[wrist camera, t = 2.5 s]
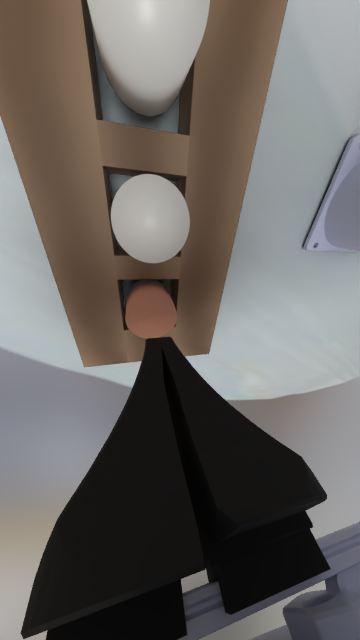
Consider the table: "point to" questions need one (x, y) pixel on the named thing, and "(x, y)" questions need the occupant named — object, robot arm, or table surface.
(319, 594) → the robot arm
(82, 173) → the walnut board
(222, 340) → the table surface
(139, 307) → the terracotta plug
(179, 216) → the grey plug middle
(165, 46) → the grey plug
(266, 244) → the table surface
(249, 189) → the table surface
